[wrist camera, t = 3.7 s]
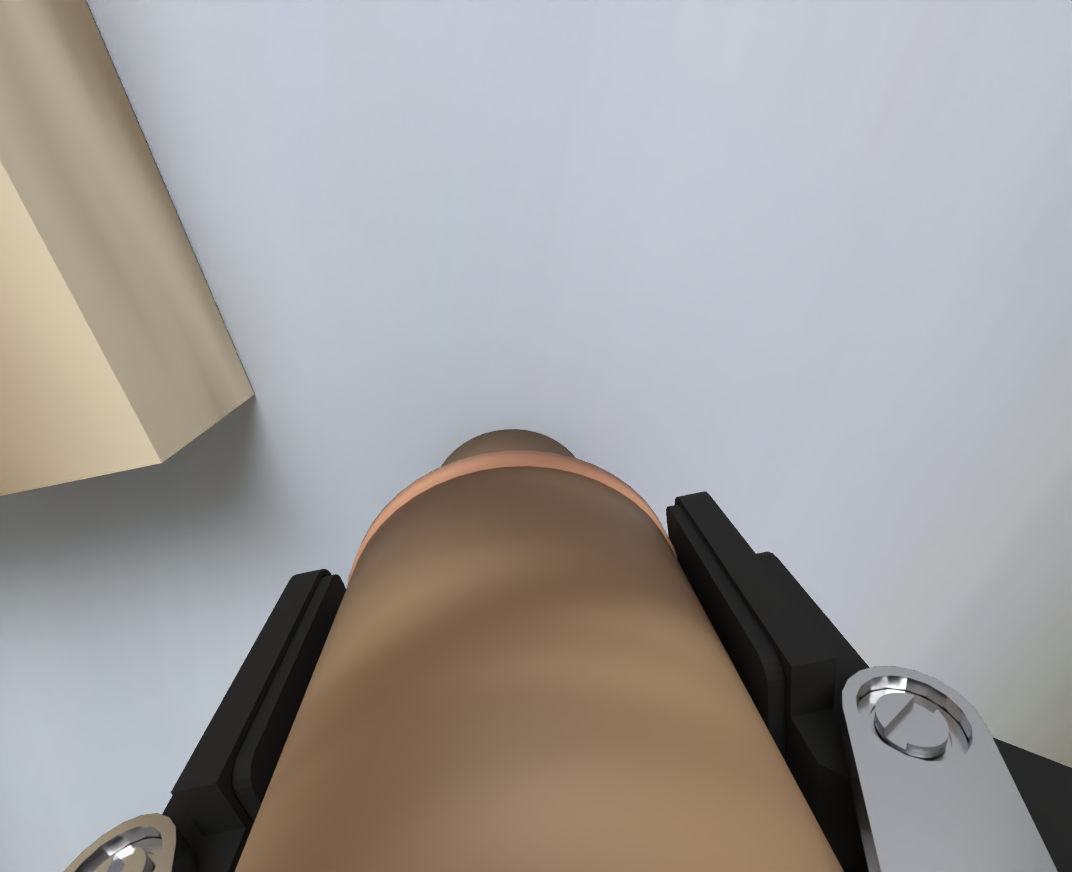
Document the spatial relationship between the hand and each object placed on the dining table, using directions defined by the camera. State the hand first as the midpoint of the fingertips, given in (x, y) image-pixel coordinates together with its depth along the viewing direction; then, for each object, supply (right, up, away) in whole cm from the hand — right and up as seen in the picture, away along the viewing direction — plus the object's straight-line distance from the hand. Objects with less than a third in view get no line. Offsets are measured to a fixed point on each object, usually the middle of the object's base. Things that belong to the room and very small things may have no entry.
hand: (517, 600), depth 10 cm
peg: (0, +1, +3) cm, 4 cm away
